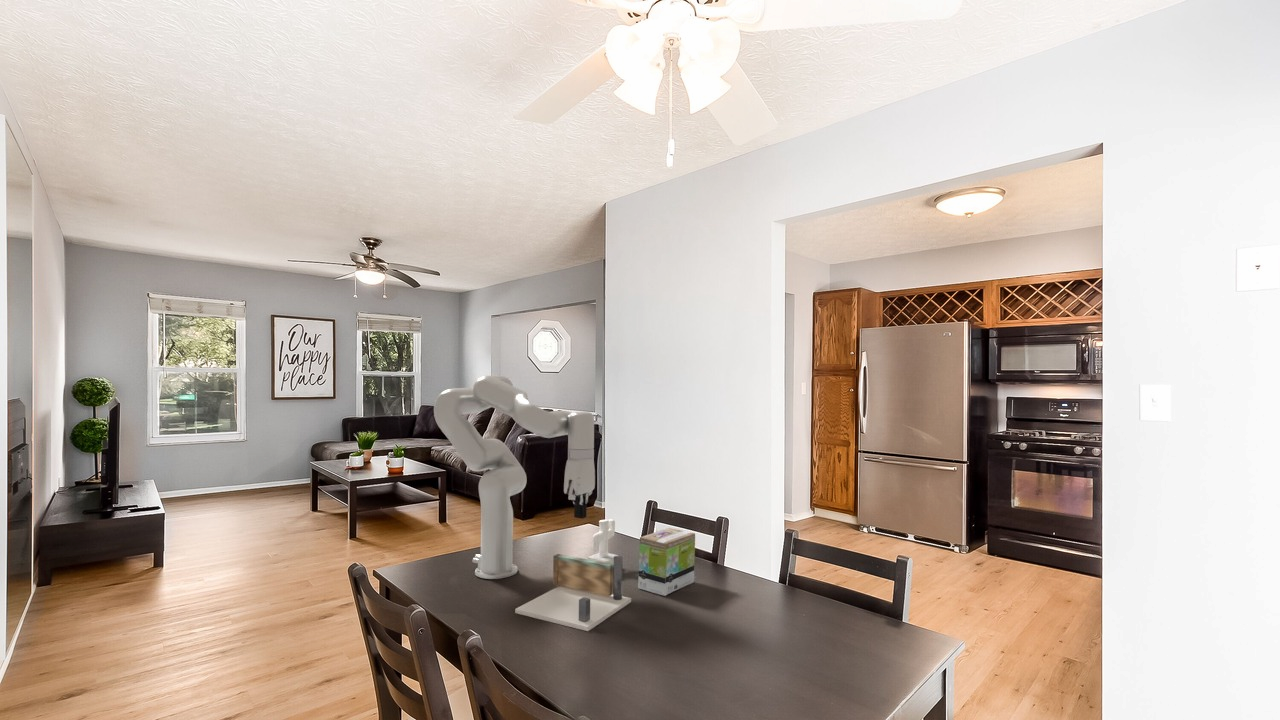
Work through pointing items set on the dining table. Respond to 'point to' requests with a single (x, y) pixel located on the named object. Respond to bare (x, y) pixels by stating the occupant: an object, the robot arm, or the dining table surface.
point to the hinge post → (617, 590)
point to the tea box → (666, 561)
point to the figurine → (603, 542)
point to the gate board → (571, 607)
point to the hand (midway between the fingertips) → (580, 517)
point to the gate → (583, 574)
